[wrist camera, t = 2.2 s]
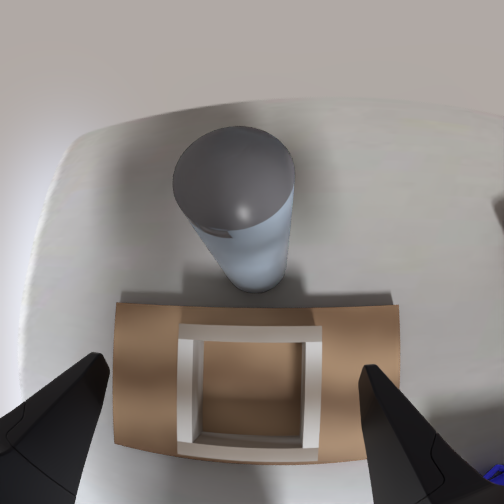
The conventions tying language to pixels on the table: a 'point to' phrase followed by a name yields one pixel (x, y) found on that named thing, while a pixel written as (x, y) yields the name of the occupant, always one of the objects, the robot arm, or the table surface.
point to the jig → (248, 380)
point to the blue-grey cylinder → (239, 202)
